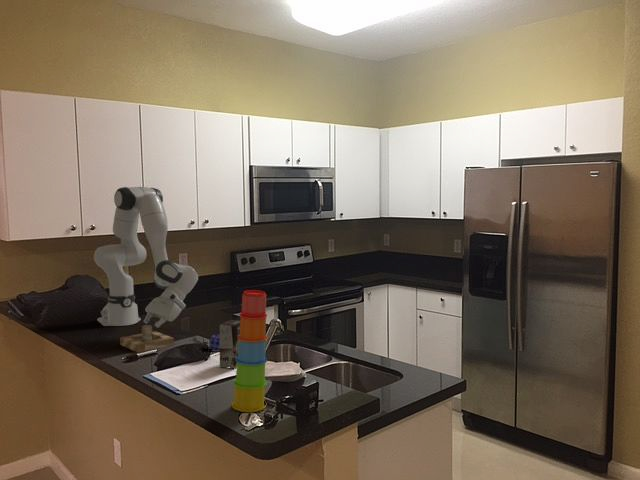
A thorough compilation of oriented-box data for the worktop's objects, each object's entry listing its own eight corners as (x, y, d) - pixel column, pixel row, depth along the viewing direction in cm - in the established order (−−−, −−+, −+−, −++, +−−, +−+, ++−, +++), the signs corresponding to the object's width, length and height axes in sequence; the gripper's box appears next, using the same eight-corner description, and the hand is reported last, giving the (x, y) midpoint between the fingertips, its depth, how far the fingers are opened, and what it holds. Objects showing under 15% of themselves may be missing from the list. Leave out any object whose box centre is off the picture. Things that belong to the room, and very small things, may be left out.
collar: (120, 344, 225) (120, 337, 225) (155, 337, 236) (155, 331, 236) (138, 352, 213) (137, 345, 213) (174, 345, 225) (173, 338, 225)
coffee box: (234, 369, 193) (234, 325, 192) (219, 367, 195) (218, 324, 194) (246, 362, 202) (246, 320, 201) (231, 360, 204) (230, 318, 203)
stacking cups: (250, 397, 166) (250, 287, 164) (273, 405, 160) (273, 291, 157) (224, 406, 159) (224, 291, 156) (247, 416, 152) (247, 295, 149)
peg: (140, 344, 225) (140, 326, 224) (149, 343, 228) (149, 324, 227) (145, 346, 222) (144, 327, 221) (153, 345, 225) (153, 326, 224)
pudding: (238, 347, 224) (238, 334, 223) (219, 354, 213) (219, 341, 213) (216, 343, 230) (216, 331, 229) (197, 349, 219) (196, 337, 219)
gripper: (154, 291, 237) (134, 316, 231) (178, 297, 223) (157, 324, 217) (163, 299, 241) (143, 324, 235) (188, 306, 226) (167, 333, 220)
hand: (150, 324), depth 225 cm, fingers open, 8 cm apart
